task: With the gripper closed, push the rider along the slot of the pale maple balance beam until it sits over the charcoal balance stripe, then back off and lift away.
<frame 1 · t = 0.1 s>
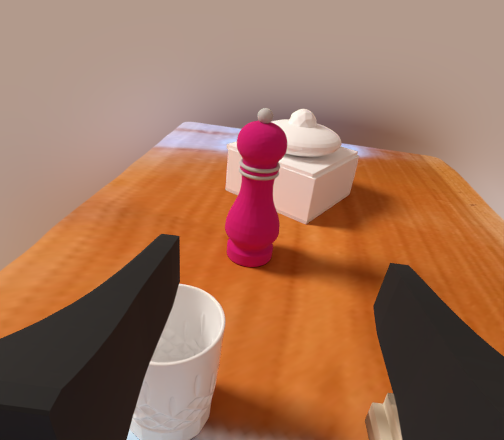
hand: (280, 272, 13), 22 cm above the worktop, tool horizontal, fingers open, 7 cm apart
pepper mill: (248, 255, 52), on the worktop
butter dish: (288, 193, 72), on the worktop
white cup: (169, 409, 31), on the worktop
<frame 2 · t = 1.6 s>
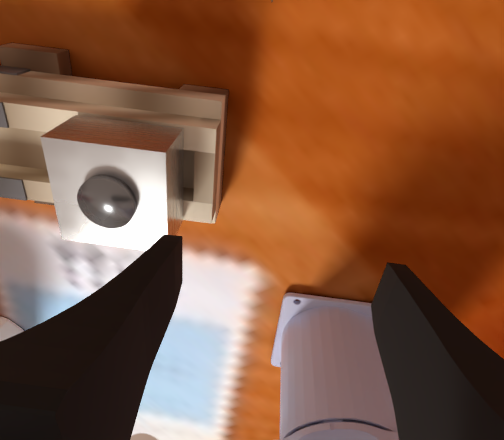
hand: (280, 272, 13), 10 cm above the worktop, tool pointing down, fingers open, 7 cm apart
rider: (126, 179, 18), point 5 cm above the worktop, slide at 0.0 cm
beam: (55, 129, 22), on the worktop
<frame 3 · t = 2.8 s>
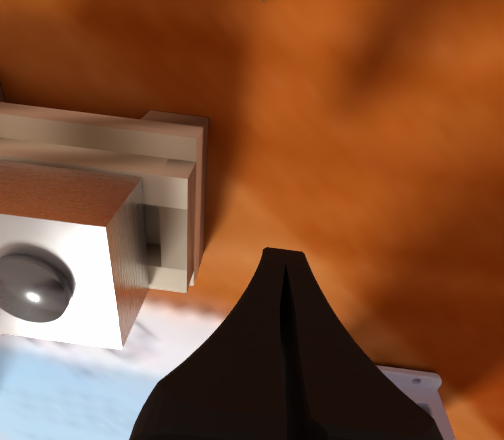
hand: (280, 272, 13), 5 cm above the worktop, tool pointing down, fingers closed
rider: (65, 245, 13), point 5 cm above the worktop, slide at 0.0 cm
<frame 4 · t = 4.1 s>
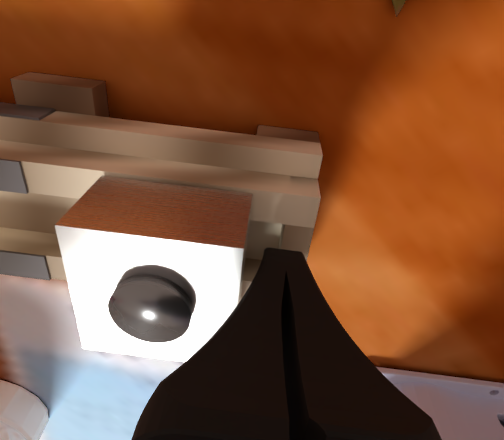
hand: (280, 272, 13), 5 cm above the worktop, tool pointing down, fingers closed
rider: (170, 262, 13), point 5 cm above the worktop, slide at 0.7 cm, touching gripper
white cup: (6, 401, 28), on the worktop
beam: (84, 179, 17), on the worktop
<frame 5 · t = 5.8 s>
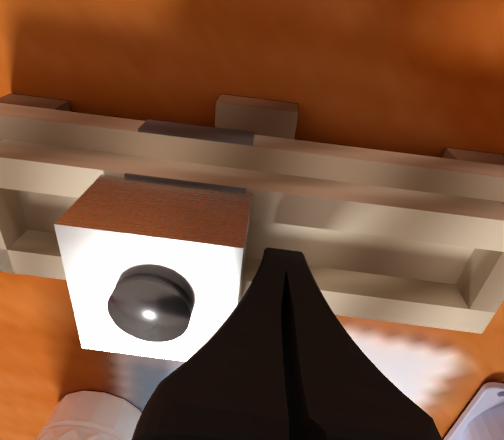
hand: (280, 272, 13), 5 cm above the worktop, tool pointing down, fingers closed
rider: (170, 261, 13), point 5 cm above the worktop, slide at 8.3 cm, touching gripper
white cup: (104, 413, 28), on the worktop
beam: (248, 199, 17), on the worktop
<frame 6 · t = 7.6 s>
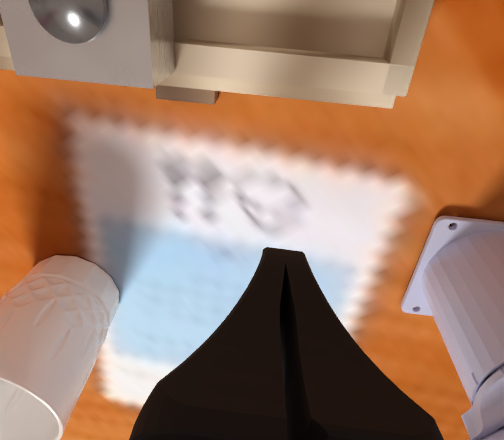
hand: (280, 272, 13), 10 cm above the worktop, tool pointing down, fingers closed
white cup: (78, 286, 29), on the worktop
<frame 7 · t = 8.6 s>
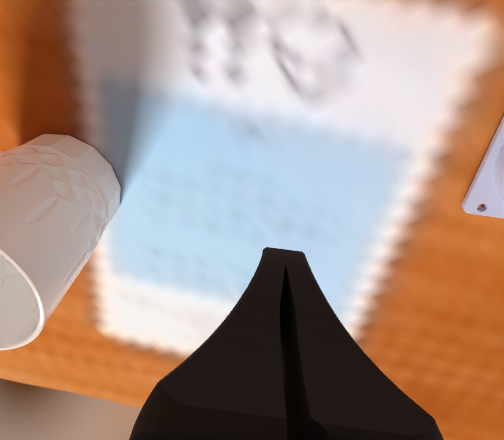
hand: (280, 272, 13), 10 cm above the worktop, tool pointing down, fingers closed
white cup: (72, 181, 24), on the worktop
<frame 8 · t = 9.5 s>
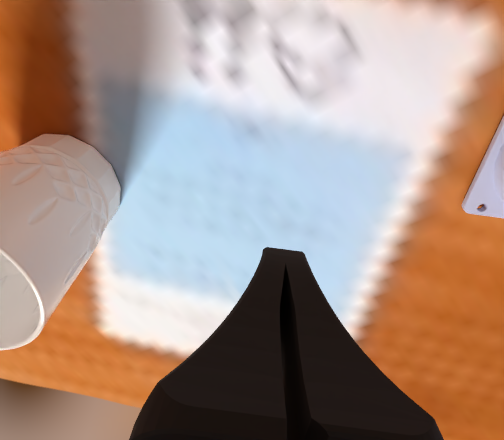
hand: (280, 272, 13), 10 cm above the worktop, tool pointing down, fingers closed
white cup: (72, 181, 24), on the worktop
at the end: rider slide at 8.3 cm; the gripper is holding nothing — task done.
